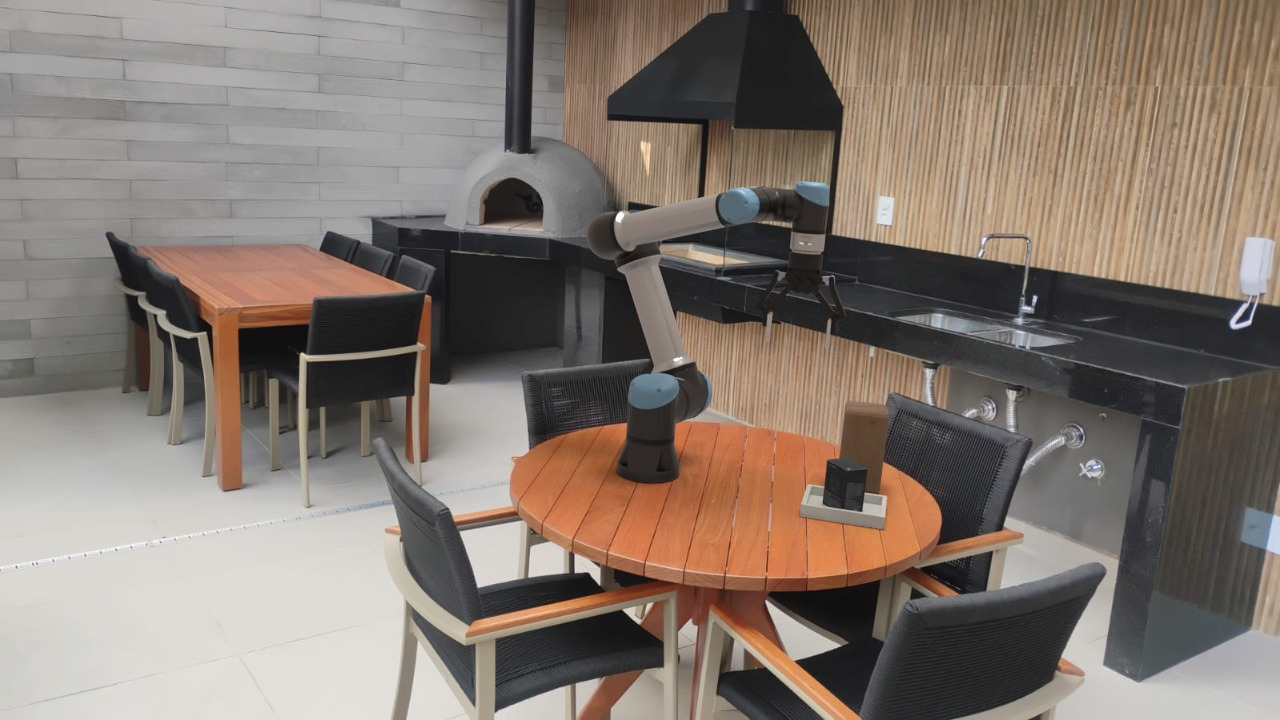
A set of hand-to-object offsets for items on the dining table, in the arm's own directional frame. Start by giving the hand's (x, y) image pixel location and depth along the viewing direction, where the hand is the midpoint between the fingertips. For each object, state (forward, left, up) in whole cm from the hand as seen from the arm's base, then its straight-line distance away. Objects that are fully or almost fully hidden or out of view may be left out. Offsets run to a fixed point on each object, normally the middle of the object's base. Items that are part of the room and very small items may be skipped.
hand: (797, 344), depth 226 cm
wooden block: (+17, +9, -35) cm, 40 cm away
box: (+15, -10, -34) cm, 38 cm away
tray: (+15, -10, -35) cm, 39 cm away
